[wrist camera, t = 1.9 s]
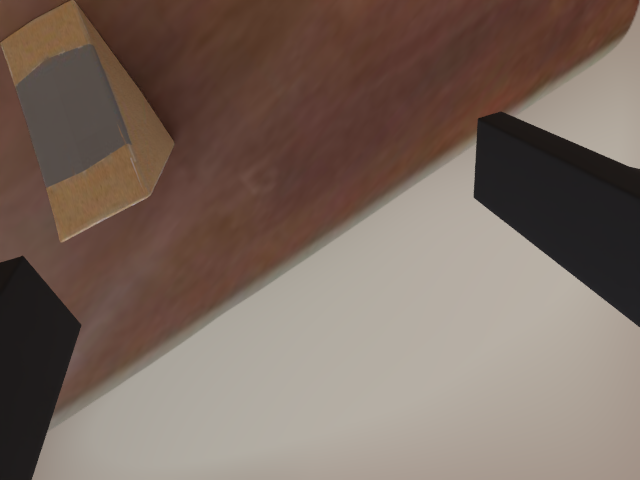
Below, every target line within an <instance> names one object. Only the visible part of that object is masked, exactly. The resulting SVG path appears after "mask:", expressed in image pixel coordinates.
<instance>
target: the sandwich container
mask: <svg viewBox="0 0 640 480" xmlns="http://www.w3.org/2000/svg"><path fill="white" fill-rule="evenodd" d="M0 44H1V47H2V50H3V53H4V56H5V59H6V62H7V65H8V68H9V71H10V74H11V77H12V80H13V83H14V86H15V89H16V92H17V95H18V98H19V101H20V104H21V107H22V110H23V114H24V117H25V120H26V123H27V127H28V130H29V133H30V137H31V140H32V144H33V147H34V150H35V153H36V156H37V160H38V163H39V166H40V169H41V173H42V176H43V180H44V183H45V186H46V190H47V194H48V197H49V201H50V204H51V208H52V212H53V215H54V219H55V223H56V227H57V231H58V235H59V239H60V242H64V241H66V240H68V239H70V238H71V237H73V236H75V235H77V234H79V233H81V232H83V231H84V230H86V229H88V228H90V227H92V226H94V225H96V224H97V223H99V222H101V221H103V220H105V219H107V218H109V217H111V216H113V215H115V214H117V213H119V212H120V211H122V210H124V209H126V208H128V207H130V206H132V205H134V204H136V203H138V202H140V201H142V200H144V199H146V198H148V197H149V196H150V195H151V194H152V192H153V190H154V188H155V185H156V183H157V181H158V179H159V177H160V175H161V173H162V171H163V168H164V166H165V164H166V162H167V160H168V158H169V156H170V153H171V151H172V149H173V147H174V145H175V144H174V141H173V140H172V138H171V137H170V135H169V134H168V132H167V131H166V129H165V127H164V126H163V124H162V123H161V121H160V120H159V118H158V117H157V115H156V114H155V112H154V111H153V109H152V108H151V106H150V105H149V103H148V102H147V100H146V99H145V97H144V96H143V94H142V93H141V91H140V90H139V88H138V87H137V86H136V84H135V83H134V82H133V80H132V79H131V77H130V76H129V75H128V73H127V72H126V71H125V69H124V68H123V66H122V65H121V64H120V62H119V61H118V60H117V58H116V57H115V55H114V54H113V53H112V51H111V50H110V49H109V47H108V46H107V44H106V43H105V42H104V40H103V39H102V38H101V36H100V35H99V33H98V32H97V31H96V29H95V28H94V27H93V25H92V24H91V22H90V21H89V20H88V18H87V17H86V16H85V14H84V13H83V11H82V10H81V9H80V7H79V6H78V5H77V3H76V2H75V1H74V0H71V1H69V2H67V3H65V4H63V5H61V6H59V7H57V8H55V9H53V10H51V11H49V12H47V13H45V14H43V15H42V16H40V17H38V18H36V19H34V20H33V21H31V22H30V23H28V24H27V25H25V26H24V27H22V28H21V29H19V30H18V31H16V32H15V33H13V34H12V35H10V36H9V37H7V38H6V39H5V40H3V41H2V42H0Z"/></svg>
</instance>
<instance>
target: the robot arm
mask: <svg viewBox="0 0 640 480" xmlns="http://www.w3.org/2000/svg"><path fill="white" fill-rule="evenodd" d="M474 198H475V199H476V200H478V201H479V202H480V203H481V204H483V205H484V206H485V207H486V208H488V209H489V210H490V211H491V212H493V213H494V214H495V215H497V216H498V217H499V218H500V219H502V220H503V221H504V222H506V223H507V224H508V225H509V226H511V227H512V228H514V229H515V230H516V231H517V232H519V233H520V234H521V235H522V236H524V237H525V238H526V239H527V240H529V241H530V242H531V243H533V244H534V245H535V246H536V247H538V248H539V249H540V250H541V251H543V252H544V253H545V254H547V255H548V256H549V257H551V258H552V259H553V260H554V261H556V262H557V263H558V264H559V265H561V266H562V267H563V268H565V269H566V270H567V271H568V272H570V273H571V274H572V275H573V276H575V277H576V278H577V279H579V280H580V281H581V282H583V283H584V284H585V285H586V286H588V287H589V288H590V289H592V290H593V291H594V292H595V293H597V294H598V295H599V296H601V297H602V298H603V299H604V300H606V301H607V302H608V303H609V304H611V305H612V306H613V307H615V308H616V309H617V310H618V311H620V312H621V313H622V314H623V315H625V316H626V317H627V318H629V319H630V320H631V321H632V322H634V323H635V324H636V325H638V326H639V327H640V169H637V168H632V167H629V166H626V165H624V164H621V163H619V162H617V161H615V160H612V159H610V158H607V157H605V156H603V155H601V154H598V153H596V152H594V151H592V150H589V149H587V148H584V147H582V146H580V145H578V144H575V143H573V142H570V141H568V140H566V139H564V138H561V137H559V136H557V135H554V134H552V133H550V132H547V131H545V130H543V129H541V128H538V127H536V126H534V125H531V124H529V123H527V122H524V121H522V120H520V119H517V118H515V117H513V116H510V115H508V114H506V113H503V112H498V113H495V114H491V115H488V116H485V117H481V118H478V127H477V145H476V164H475V183H474ZM80 328H81V324H80V323H79V322H78V320H77V319H76V318H75V317H74V316H73V314H72V313H71V312H70V311H69V310H68V309H67V307H66V306H65V305H64V304H63V303H62V301H61V300H60V299H59V298H58V297H57V296H56V294H55V293H54V292H53V291H52V290H51V288H50V287H49V286H48V285H47V284H46V282H45V281H44V280H43V279H42V278H41V277H40V275H39V274H38V273H37V272H36V271H35V269H34V268H33V267H32V266H31V265H30V263H29V262H28V261H27V260H26V259H25V258H24V256H21V257H18V258H14V259H11V260H8V261H4V262H1V263H0V480H32V477H33V474H34V471H35V467H36V464H37V461H38V458H39V455H40V452H41V449H42V446H43V443H44V440H45V436H46V433H47V430H48V427H49V424H50V421H51V418H52V415H53V412H54V409H55V405H56V402H57V399H58V396H59V393H60V390H61V387H62V384H63V381H64V378H65V374H66V371H67V368H68V365H69V362H70V359H71V356H72V353H73V350H74V347H75V343H76V340H77V337H78V334H79V331H80Z"/></svg>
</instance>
